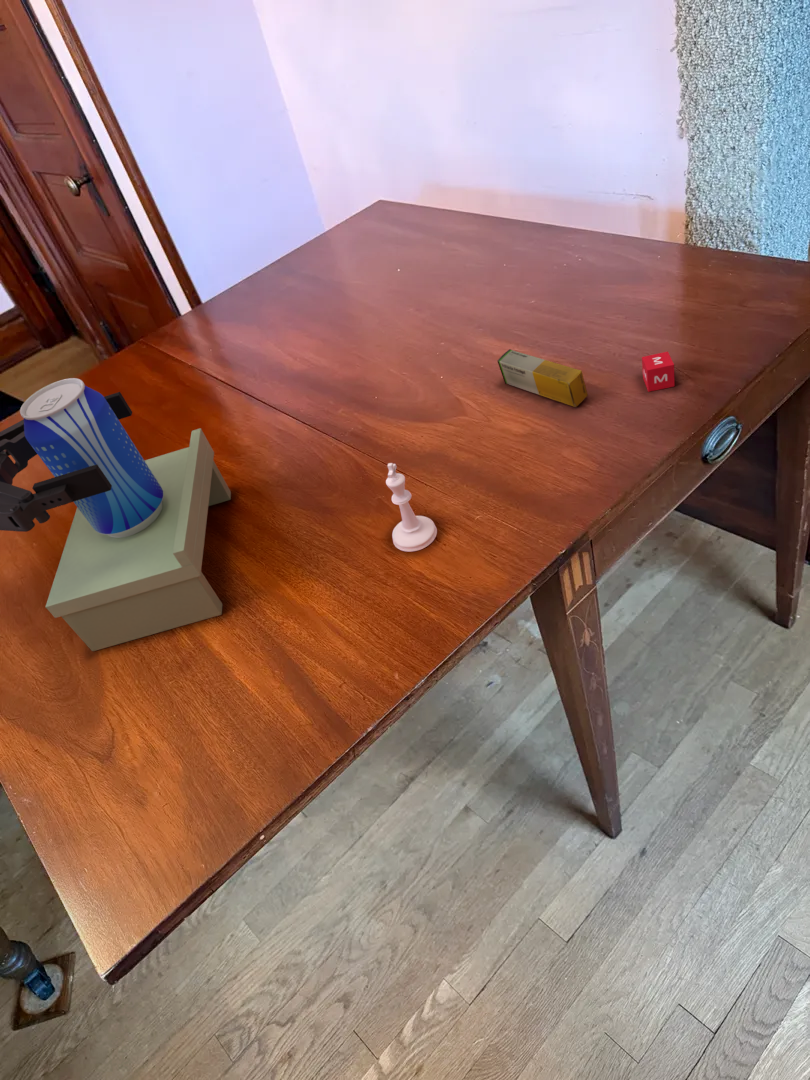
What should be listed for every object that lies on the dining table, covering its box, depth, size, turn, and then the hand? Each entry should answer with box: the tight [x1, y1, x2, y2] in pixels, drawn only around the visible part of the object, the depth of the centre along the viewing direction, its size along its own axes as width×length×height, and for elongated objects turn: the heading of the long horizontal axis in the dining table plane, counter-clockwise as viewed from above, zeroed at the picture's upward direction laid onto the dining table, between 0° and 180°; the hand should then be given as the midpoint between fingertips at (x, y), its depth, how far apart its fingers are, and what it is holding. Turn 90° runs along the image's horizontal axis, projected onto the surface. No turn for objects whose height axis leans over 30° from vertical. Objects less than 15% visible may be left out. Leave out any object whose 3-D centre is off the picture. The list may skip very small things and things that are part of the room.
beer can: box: [19, 377, 163, 538], centre depth 78 cm, size 8×8×16 cm
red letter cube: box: [641, 351, 675, 392], centre depth 88 cm, size 3×3×3 cm
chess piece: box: [385, 462, 438, 553], centre depth 77 cm, size 5×5×10 cm
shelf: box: [45, 427, 232, 652], centre depth 85 cm, size 16×22×10 cm
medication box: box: [497, 348, 588, 408], centre depth 92 cm, size 12×3×4 cm, turn 40°
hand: (116, 437), depth 76 cm, fingers open, 13 cm apart
